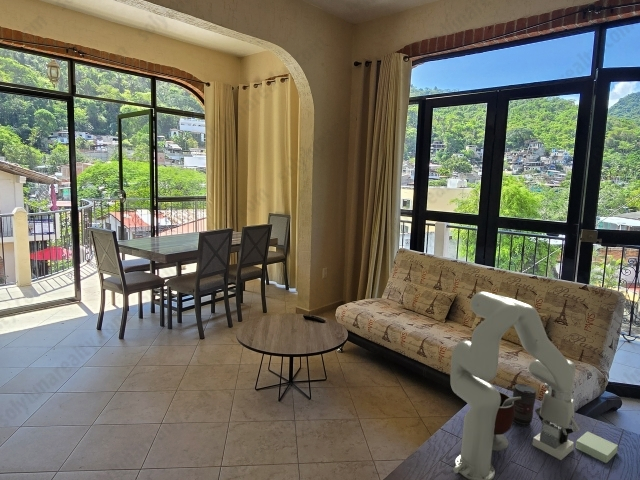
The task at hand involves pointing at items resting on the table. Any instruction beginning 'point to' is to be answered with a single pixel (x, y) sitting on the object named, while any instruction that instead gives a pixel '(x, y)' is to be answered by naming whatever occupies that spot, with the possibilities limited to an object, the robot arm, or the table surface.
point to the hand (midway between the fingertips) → (553, 437)
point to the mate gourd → (503, 421)
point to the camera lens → (523, 404)
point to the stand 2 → (596, 446)
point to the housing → (551, 434)
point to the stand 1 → (558, 452)
